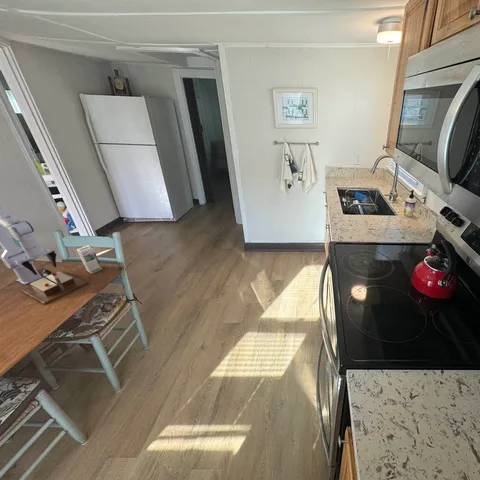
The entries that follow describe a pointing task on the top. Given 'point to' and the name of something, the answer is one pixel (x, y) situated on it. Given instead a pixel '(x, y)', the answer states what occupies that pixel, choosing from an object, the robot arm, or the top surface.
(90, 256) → the syrup box
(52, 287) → the cake
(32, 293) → the cutting board
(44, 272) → the cleaver knife
